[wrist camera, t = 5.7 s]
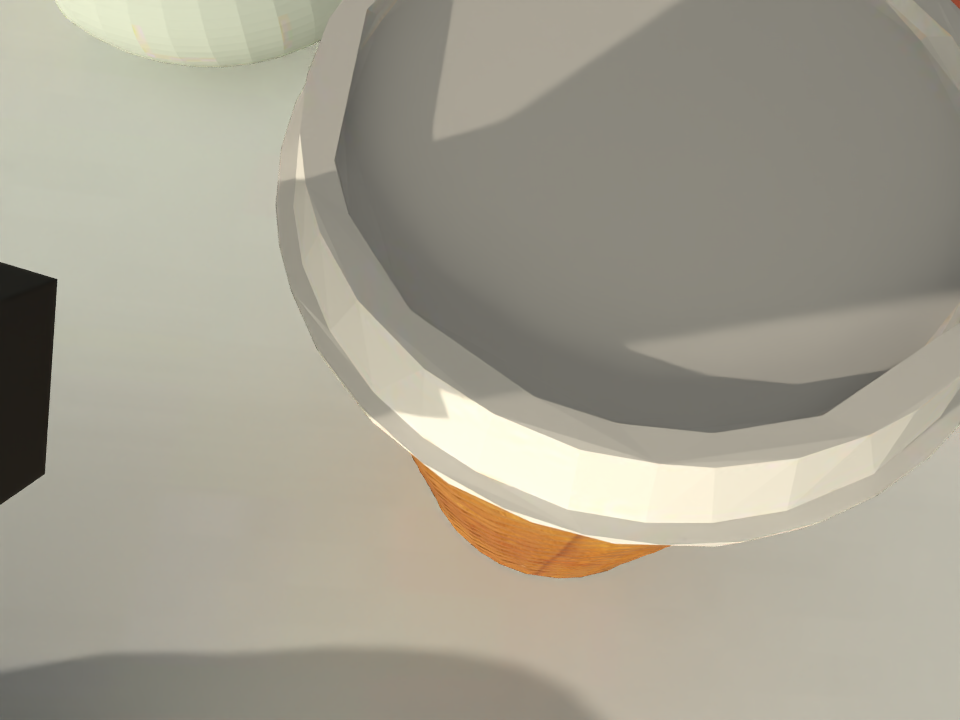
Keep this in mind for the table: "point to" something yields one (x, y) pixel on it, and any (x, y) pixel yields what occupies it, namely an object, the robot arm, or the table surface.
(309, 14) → the air freshener
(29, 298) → the robot arm
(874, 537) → the table surface
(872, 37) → the disposable coffee cup
